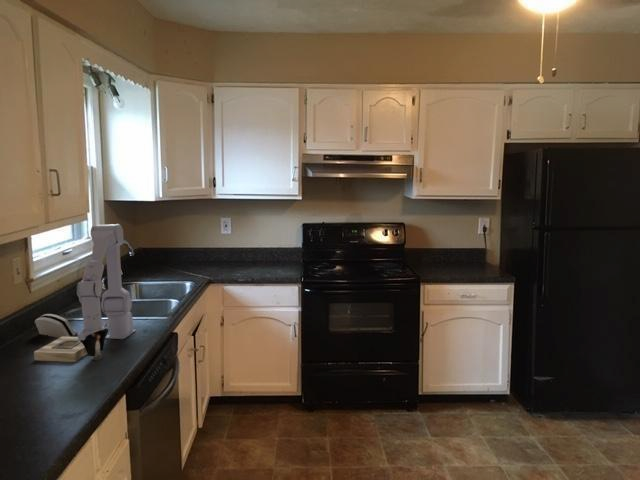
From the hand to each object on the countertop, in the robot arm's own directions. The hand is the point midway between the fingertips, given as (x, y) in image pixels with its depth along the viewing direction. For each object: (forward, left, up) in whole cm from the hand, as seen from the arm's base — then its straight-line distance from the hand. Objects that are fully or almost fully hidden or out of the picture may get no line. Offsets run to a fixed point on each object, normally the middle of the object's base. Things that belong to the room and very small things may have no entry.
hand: (95, 353), depth 169 cm
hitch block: (-4, -13, -2) cm, 14 cm away
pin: (0, 0, -2) cm, 2 cm away
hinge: (-20, -29, -2) cm, 36 cm away
